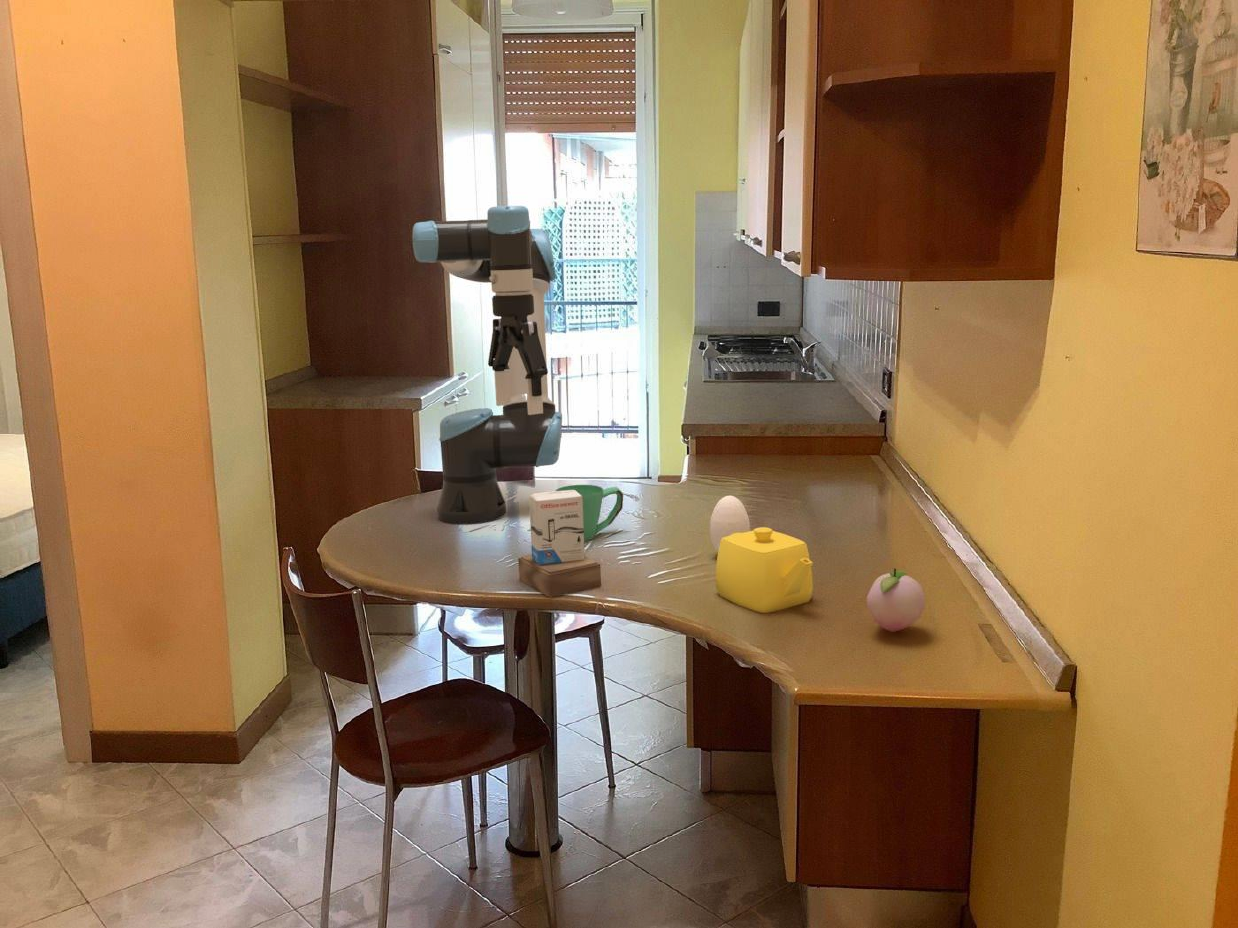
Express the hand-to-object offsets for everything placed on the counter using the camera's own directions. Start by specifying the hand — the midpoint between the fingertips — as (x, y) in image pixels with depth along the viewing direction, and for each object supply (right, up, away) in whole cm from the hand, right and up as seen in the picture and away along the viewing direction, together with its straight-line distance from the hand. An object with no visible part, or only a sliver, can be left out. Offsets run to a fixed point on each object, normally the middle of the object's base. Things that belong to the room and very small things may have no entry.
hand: (519, 409), depth 193 cm
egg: (+39, -28, +2) cm, 48 cm away
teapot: (+43, -33, -21) cm, 58 cm away
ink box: (+8, -27, -10) cm, 30 cm away
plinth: (+8, -31, -9) cm, 33 cm away
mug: (+13, -25, +19) cm, 34 cm away
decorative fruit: (+60, -35, -37) cm, 79 cm away
